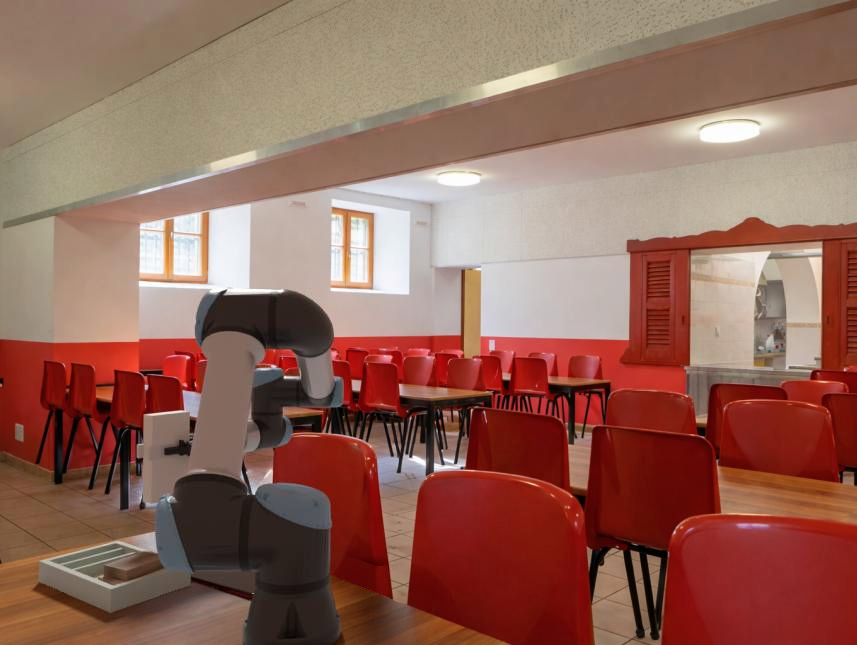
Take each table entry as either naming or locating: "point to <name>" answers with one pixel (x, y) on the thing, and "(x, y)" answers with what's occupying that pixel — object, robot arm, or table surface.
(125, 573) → the offcut upper
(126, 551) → the tray
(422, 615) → the table surface
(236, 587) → the smartphone
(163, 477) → the white rectangular block
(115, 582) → the offcut lower
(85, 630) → the table surface
